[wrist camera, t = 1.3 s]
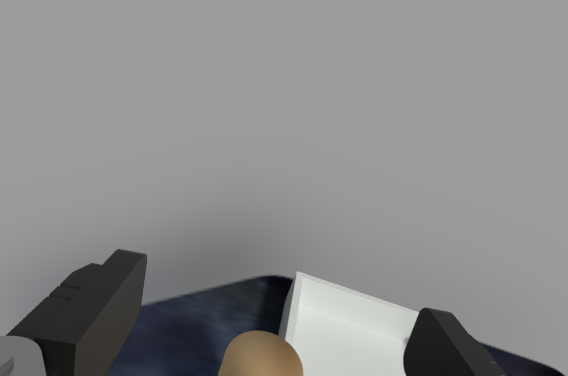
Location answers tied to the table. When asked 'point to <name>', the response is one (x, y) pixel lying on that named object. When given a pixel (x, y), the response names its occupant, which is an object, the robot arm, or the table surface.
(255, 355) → the wooden cylinder
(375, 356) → the tote
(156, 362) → the table surface
